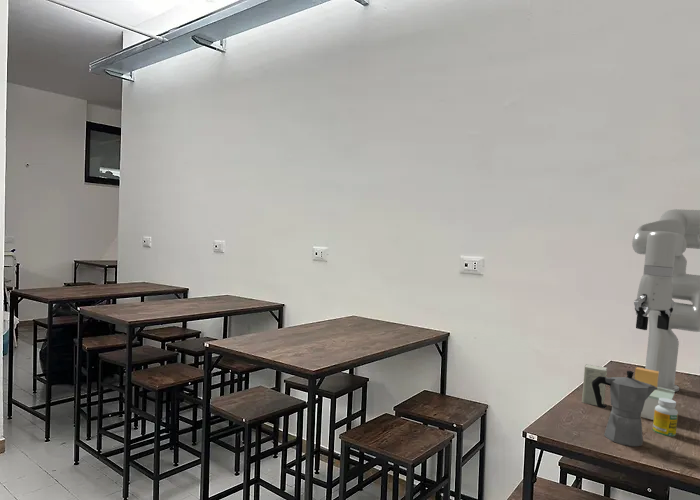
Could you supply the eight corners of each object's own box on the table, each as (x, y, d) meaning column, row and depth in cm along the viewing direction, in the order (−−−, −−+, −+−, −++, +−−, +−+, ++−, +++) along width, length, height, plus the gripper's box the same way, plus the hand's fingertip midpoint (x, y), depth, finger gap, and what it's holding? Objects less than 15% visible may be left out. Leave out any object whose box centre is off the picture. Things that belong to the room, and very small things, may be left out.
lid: (619, 383, 161) (621, 363, 161) (674, 396, 152) (676, 374, 152) (611, 392, 150) (614, 370, 150) (670, 406, 142) (673, 383, 141)
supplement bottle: (658, 429, 139) (661, 395, 139) (679, 437, 135) (683, 402, 134) (648, 432, 136) (652, 398, 136) (669, 440, 132) (673, 404, 131)
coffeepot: (644, 436, 133) (651, 369, 132) (658, 451, 124) (666, 379, 123) (582, 427, 136) (589, 362, 136) (591, 440, 127) (598, 371, 126)
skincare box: (604, 406, 156) (608, 367, 156) (603, 410, 152) (607, 370, 152) (582, 401, 159) (586, 363, 159) (580, 404, 155) (584, 366, 155)
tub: (618, 402, 160) (620, 381, 160) (670, 415, 152) (672, 392, 152) (612, 412, 151) (614, 389, 151) (666, 425, 142) (669, 401, 142)
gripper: (664, 272, 157) (658, 326, 157) (627, 270, 149) (621, 326, 150) (688, 275, 150) (682, 331, 150) (651, 272, 142) (645, 332, 143)
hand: (652, 329), depth 150 cm, fingers open, 9 cm apart
